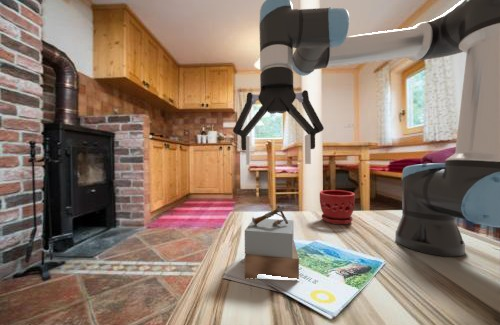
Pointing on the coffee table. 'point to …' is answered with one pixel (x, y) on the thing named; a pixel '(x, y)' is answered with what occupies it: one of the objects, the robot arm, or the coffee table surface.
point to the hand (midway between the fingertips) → (277, 164)
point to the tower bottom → (272, 265)
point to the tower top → (270, 239)
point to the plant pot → (337, 206)
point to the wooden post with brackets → (279, 209)
